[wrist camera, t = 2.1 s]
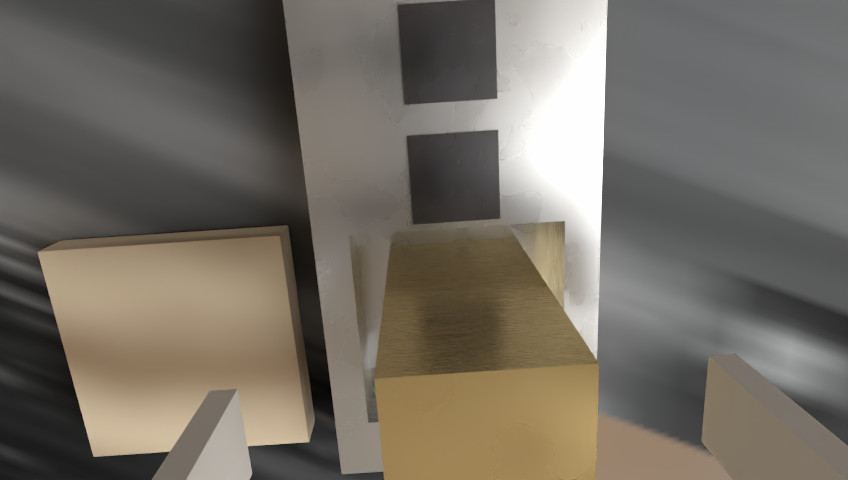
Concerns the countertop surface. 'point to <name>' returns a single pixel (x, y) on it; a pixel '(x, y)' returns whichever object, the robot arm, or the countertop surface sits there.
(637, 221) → the countertop surface
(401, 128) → the white recessed slab
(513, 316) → the block
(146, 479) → the countertop surface
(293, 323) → the coaster
